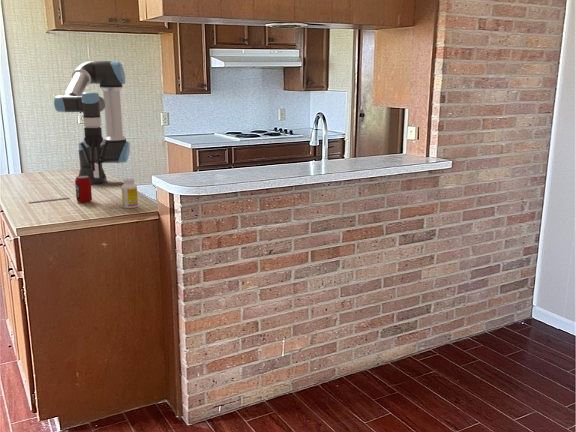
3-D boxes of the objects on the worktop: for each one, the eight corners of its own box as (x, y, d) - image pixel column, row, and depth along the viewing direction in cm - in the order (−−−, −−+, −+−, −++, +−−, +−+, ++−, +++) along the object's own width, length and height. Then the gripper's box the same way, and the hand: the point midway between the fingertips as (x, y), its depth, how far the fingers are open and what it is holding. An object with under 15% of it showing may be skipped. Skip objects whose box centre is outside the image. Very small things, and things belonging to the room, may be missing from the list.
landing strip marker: (68, 198, 265) (68, 197, 265) (69, 198, 264) (69, 198, 264) (28, 202, 255) (28, 202, 255) (29, 203, 253) (29, 202, 253)
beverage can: (79, 200, 260) (77, 175, 257) (93, 200, 261) (91, 175, 258) (75, 203, 254) (72, 177, 251) (90, 203, 254) (88, 177, 252)
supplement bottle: (141, 206, 250) (139, 178, 247) (132, 209, 244) (130, 180, 241) (128, 204, 252) (126, 177, 249) (119, 208, 246) (117, 179, 243)
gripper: (103, 125, 259) (107, 175, 265) (75, 126, 252) (79, 177, 258) (109, 126, 254) (113, 177, 259) (80, 128, 246) (85, 180, 252)
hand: (96, 177), depth 258 cm, fingers closed
